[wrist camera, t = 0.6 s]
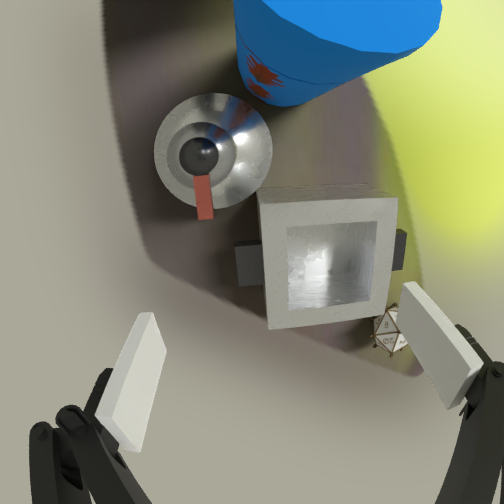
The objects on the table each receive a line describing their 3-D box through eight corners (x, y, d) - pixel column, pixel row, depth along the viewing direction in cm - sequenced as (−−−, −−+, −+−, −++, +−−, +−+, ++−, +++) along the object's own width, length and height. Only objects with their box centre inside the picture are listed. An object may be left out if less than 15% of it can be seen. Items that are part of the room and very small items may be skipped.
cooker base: (232, 190, 36) (228, 207, 28) (385, 183, 36) (419, 197, 28) (242, 293, 42) (243, 331, 33) (377, 279, 42) (403, 310, 33)
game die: (373, 313, 49) (366, 365, 43) (367, 290, 43) (360, 349, 38) (419, 312, 44) (417, 365, 39) (421, 288, 38) (419, 349, 33)
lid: (160, 107, 31) (112, 92, 18) (264, 94, 31) (278, 67, 18) (172, 204, 36) (134, 244, 23) (271, 195, 36) (289, 230, 23)
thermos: (287, 125, 33) (375, 104, 10) (220, 73, 30) (179, -33, 7) (340, 69, 30) (468, 2, 7) (276, 18, 27) (320, -110, 4)
